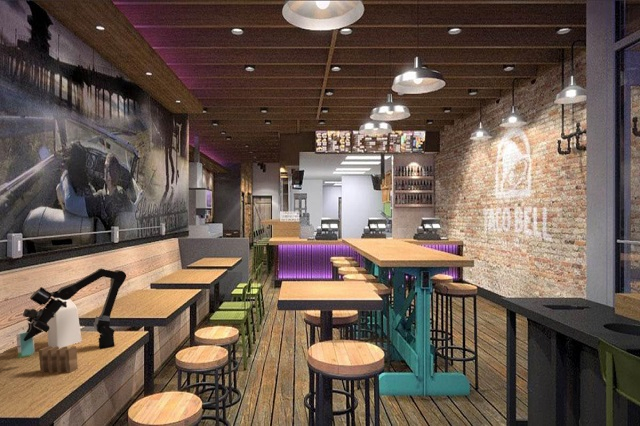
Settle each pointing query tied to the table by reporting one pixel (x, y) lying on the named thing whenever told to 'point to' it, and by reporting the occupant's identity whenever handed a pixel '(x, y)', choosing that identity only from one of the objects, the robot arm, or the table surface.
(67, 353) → the domino
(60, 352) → the domino
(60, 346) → the milk
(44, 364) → the domino
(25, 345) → the domino
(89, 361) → the table surface
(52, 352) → the domino
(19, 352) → the ink box
